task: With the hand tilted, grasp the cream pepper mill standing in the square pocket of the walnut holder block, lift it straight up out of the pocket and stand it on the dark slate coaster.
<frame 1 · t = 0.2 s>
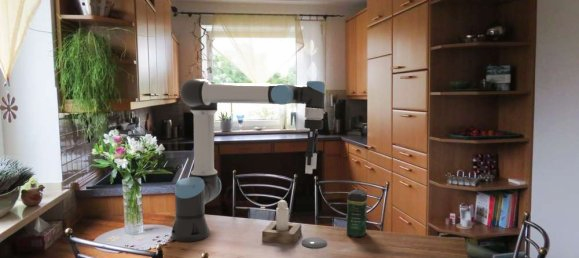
hand: (310, 170, 169), 27 cm above the table, tool pointing down, fingers open, 13 cm apart
pepper mill: (282, 218, 169), in the walnut holder
coffee jar: (356, 234, 175), on the table
walnut holder: (282, 237, 170), on the table
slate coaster: (314, 243, 163), on the table
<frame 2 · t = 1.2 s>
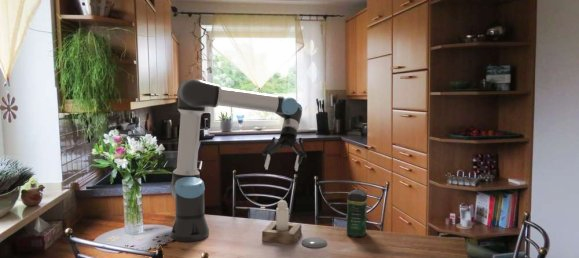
hand: (280, 168, 179), 26 cm above the table, tool tilted 45°, fingers open, 13 cm apart
nothing on the table moved.
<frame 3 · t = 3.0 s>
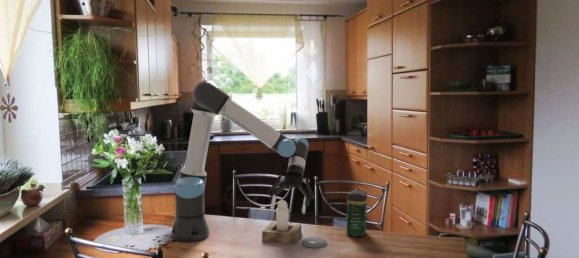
hand: (287, 211, 172), 10 cm above the table, tool tilted 45°, fingers open, 13 cm apart
nothing on the table moved.
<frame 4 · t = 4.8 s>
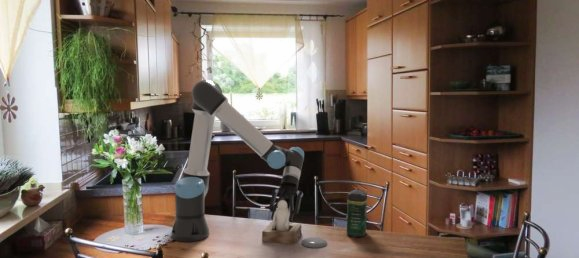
hand: (279, 227, 166), 5 cm above the table, tool tilted 45°, fingers closed on pepper mill, 5 cm apart
pepper mill: (282, 218, 169), in the walnut holder, touching gripper
everything else where it was.
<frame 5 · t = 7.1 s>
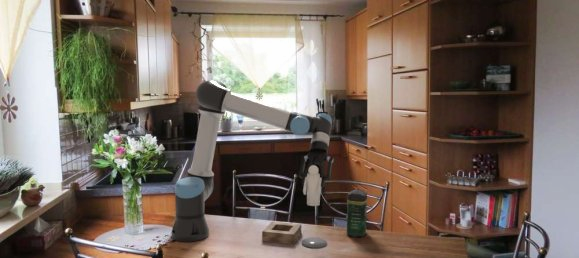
hand: (311, 193, 159), 21 cm above the table, tool tilted 45°, fingers closed on pepper mill, 5 cm apart
pepper mill: (313, 184, 162), point 23 cm above the table, touching gripper
everything else where it was.
when the fingers open (7 cm above the table, at t = 9.9 s): pepper mill drops 1 cm, resting on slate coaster.
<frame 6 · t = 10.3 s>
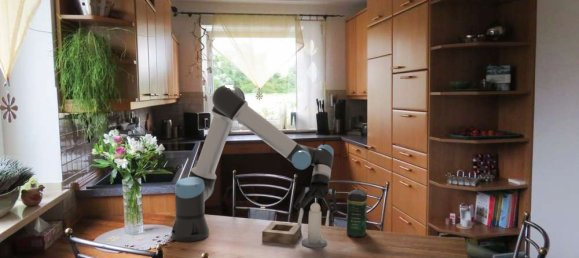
hand: (312, 225, 160), 8 cm above the table, tool tilted 45°, fingers open, 10 cm apart
pepper mill: (314, 222, 163), on the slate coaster, point 8 cm above the table
everything else where it was.
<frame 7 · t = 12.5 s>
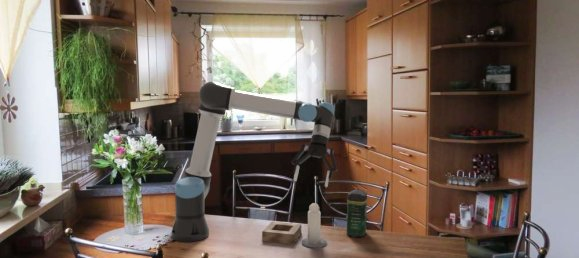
hand: (310, 183, 174), 21 cm above the table, tool tilted 25°, fingers open, 13 cm apart
nothing on the table moved.
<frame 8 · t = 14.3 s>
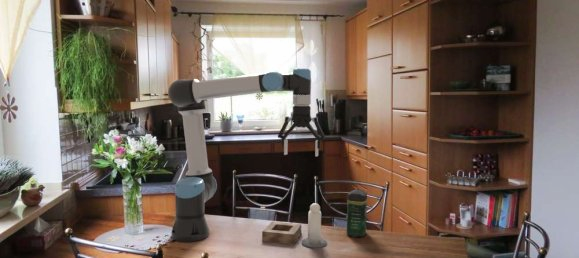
hand: (301, 155, 176), 33 cm above the table, tool pointing down, fingers open, 13 cm apart
nothing on the table moved.
at the end: pepper mill 0.1 cm from the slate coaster (horizontally); pepper mill tilted 1°; pepper mill point 8.4 cm above the table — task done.
